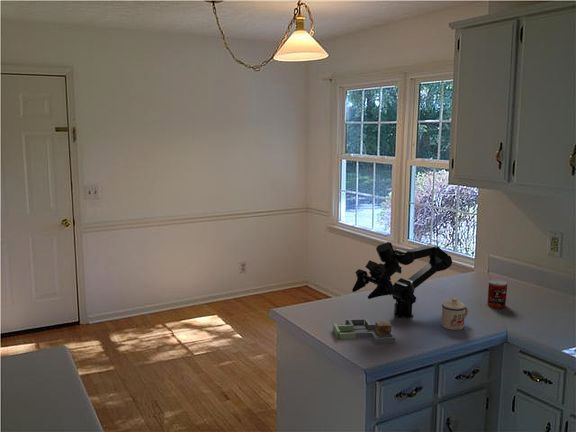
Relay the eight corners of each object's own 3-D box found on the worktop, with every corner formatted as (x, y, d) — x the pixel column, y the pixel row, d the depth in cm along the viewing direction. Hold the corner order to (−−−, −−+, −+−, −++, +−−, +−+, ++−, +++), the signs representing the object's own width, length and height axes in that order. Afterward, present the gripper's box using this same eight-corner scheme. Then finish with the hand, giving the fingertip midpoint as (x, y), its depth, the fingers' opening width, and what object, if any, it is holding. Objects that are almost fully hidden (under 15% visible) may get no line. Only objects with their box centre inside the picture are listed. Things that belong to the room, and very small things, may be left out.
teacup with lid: (451, 332, 212) (453, 303, 210) (436, 324, 220) (437, 296, 218) (474, 327, 217) (476, 299, 215) (458, 319, 225) (460, 292, 223)
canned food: (486, 307, 240) (488, 283, 238) (487, 301, 247) (489, 278, 245) (505, 309, 237) (507, 285, 235) (505, 303, 244) (507, 280, 242)
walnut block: (387, 330, 214) (387, 320, 214) (391, 335, 209) (391, 325, 209) (375, 330, 214) (375, 321, 213) (378, 335, 209) (378, 325, 208)
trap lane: (381, 322, 222) (381, 315, 221) (395, 342, 202) (396, 335, 201) (330, 324, 219) (330, 317, 219) (340, 345, 200) (340, 337, 199)
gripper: (364, 250, 225) (338, 272, 219) (397, 261, 210) (369, 286, 204) (373, 270, 230) (347, 293, 224) (405, 283, 215) (379, 307, 209)
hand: (360, 294), depth 215 cm, fingers open, 9 cm apart
